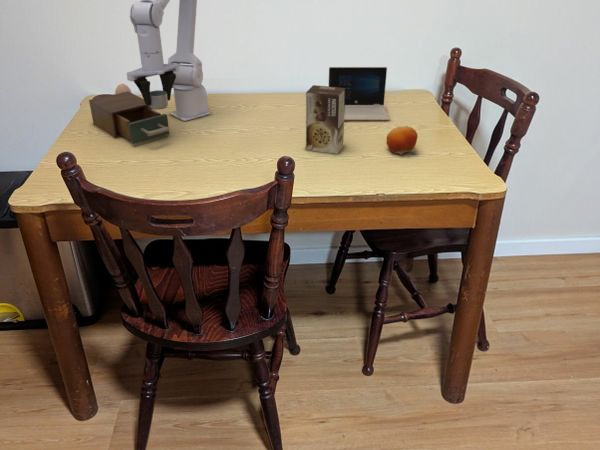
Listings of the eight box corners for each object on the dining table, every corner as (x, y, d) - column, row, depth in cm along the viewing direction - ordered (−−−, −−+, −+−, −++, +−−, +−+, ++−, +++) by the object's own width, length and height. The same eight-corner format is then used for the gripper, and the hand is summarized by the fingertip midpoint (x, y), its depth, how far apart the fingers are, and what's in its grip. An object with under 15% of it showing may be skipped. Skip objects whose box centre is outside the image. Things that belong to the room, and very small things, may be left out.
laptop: (330, 121, 169) (331, 78, 162) (327, 107, 179) (328, 66, 173) (389, 121, 169) (393, 78, 162) (383, 107, 180) (387, 66, 173)
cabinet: (155, 127, 164) (151, 102, 160) (115, 138, 157) (111, 112, 153) (131, 114, 173) (128, 91, 169) (93, 124, 166) (88, 99, 162)
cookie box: (343, 145, 153) (346, 87, 145) (337, 154, 148) (340, 95, 139) (312, 141, 155) (313, 84, 147) (304, 150, 150) (305, 91, 142)
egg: (113, 105, 180) (109, 84, 177) (125, 101, 184) (122, 80, 180) (124, 108, 178) (121, 87, 174) (136, 103, 182) (133, 83, 178)
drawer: (178, 139, 154) (176, 119, 151) (142, 150, 148) (139, 129, 145) (146, 121, 166) (143, 102, 163) (110, 130, 159) (107, 111, 156)
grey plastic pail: (161, 102, 156) (160, 89, 154) (172, 107, 153) (170, 93, 151) (144, 106, 153) (143, 93, 151) (155, 111, 150) (153, 97, 148)
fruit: (402, 156, 143) (395, 126, 143) (385, 161, 150) (379, 132, 150) (427, 150, 146) (420, 120, 146) (410, 155, 154) (403, 127, 153)
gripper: (133, 59, 139) (140, 111, 146) (183, 49, 147) (188, 99, 154) (119, 53, 143) (127, 104, 150) (169, 44, 152) (174, 93, 159)
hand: (157, 101), depth 152 cm, fingers closed on grey plastic pail, 5 cm apart
